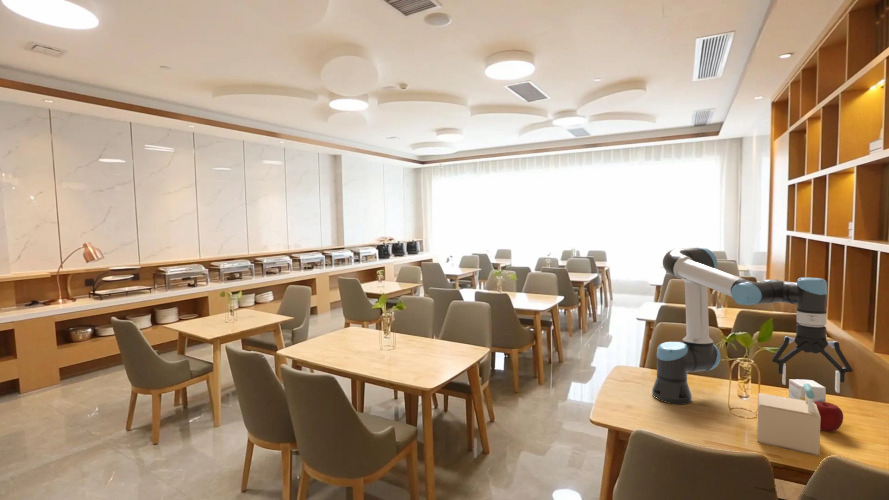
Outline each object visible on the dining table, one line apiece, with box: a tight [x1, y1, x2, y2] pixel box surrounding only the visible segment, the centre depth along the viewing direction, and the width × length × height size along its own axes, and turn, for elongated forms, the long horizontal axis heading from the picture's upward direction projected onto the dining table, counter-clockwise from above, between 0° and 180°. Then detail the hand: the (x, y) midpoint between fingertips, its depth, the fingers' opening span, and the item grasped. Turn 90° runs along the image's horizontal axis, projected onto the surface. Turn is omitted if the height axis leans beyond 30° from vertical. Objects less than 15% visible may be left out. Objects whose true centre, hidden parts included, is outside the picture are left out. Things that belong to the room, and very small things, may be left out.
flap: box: [758, 383, 818, 416], centre depth 146 cm, size 15×12×7 cm
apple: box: [814, 401, 844, 432], centre depth 154 cm, size 10×10×10 cm
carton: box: [756, 393, 821, 457], centre depth 147 cm, size 16×12×13 cm
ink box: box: [788, 378, 827, 402], centre depth 169 cm, size 9×8×12 cm
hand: (809, 387), depth 142 cm, fingers open, 13 cm apart
